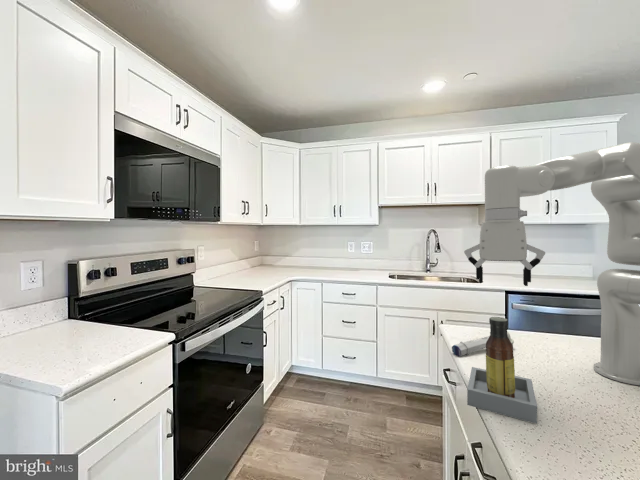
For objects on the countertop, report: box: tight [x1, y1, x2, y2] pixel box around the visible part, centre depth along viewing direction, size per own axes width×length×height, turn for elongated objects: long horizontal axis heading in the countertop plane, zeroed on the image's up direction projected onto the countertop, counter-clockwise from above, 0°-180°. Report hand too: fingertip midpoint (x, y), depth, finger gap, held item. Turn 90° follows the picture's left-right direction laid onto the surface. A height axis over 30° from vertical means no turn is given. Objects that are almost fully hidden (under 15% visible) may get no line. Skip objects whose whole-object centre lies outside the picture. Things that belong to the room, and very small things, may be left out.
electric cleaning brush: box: [451, 331, 515, 357], centre depth 105 cm, size 5×7×25 cm
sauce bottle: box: [485, 316, 516, 398], centre depth 75 cm, size 6×6×20 cm
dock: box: [466, 366, 538, 425], centre depth 75 cm, size 14×14×4 cm
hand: (502, 283), depth 74 cm, fingers open, 9 cm apart
